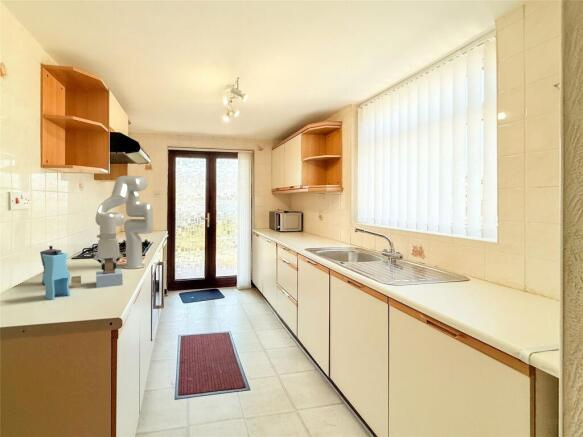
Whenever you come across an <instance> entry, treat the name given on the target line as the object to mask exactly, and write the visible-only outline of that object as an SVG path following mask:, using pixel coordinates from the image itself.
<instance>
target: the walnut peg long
mask: <svg viewBox="0 0 583 437" xmlns="http://www.w3.org/2000/svg"><path fill="white" fill-rule="evenodd" d="M113 262H114V260H113V258H108V259H104V264H105V274H112V273H113Z"/></svg>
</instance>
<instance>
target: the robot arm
mask: <svg viewBox="0 0 583 437" xmlns="http://www.w3.org/2000/svg"><path fill="white" fill-rule="evenodd" d="M148 184H149V182H148V178H147V177H146V176H144V175H121V176H119V177H117V178H116V180H115V182H114V184H113V185H114V186H113V189H112V191H111V195H110V197H108V198H106V199H104V201H102V203H100V204H99V206H98V209H97V211H96V215H95V223H96V225H98V226H99V234H97V235H96V238H99V239H98V240H97V252H96V254H95V255H94V256H93V260H94V261H96V262H98V263H100V264H101V271H103V272H104V271H105V264H104V259H108V258H113V271H115V270H117V263H118V262H119V261H120V260H121V259H122V258H124V255H123V254H122V252H120V245H119V239H118V238H117V231H116V230H117V227H121V226H123V230H124V234H125V259H126V260H125V262H126V264H124V265H123V269H127V270H129V269H130V270H131V269H133V270H135V269H141V268H145V266H146V265H145V263H143V240H142V238H141V236H140V234H151V233H152V232H153V230H154V210H153V206H152V204H151V203H150V202H141V195H140V193H139V192H142V191H144V190H146V189H147V188H148ZM124 204H125V213H126V216H127V217H131V218H129V219H127V220H126V217H125V215H124V214H123V213H122V212H115V211H114V212H113V211H110V210H111V209H114V208H117V207H119V206H121V205H124ZM108 211H110V212H108Z"/></svg>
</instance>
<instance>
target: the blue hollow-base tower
mask: <svg viewBox="0 0 583 437" xmlns="http://www.w3.org/2000/svg"><path fill="white" fill-rule="evenodd" d="M68 255H69V253H66V252H62V251H61V252H58V255H54V256H49V255H44V254H43V255H42V257H43V259H44V262H45V271H44V270H43V272H44V274H43V273H42V280H43V281H44V284H43V285H44V288H45V293H44V294H45V295H44V299H47V300H50V301H53V300H55V298H56V297H55V296H58V295H64V296H67V297H71V291H70V288H69V287H70V285H69V284H70V280H71V274H70V271H69V269H68V267H67V260H68Z"/></svg>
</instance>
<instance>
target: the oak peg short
mask: <svg viewBox="0 0 583 437" xmlns="http://www.w3.org/2000/svg"><path fill="white" fill-rule="evenodd" d="M70 280H71V282H70V283H71V289H72V288H73V289H75V288H81V287H82V276H81V275H76V276H71V277H70Z"/></svg>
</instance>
